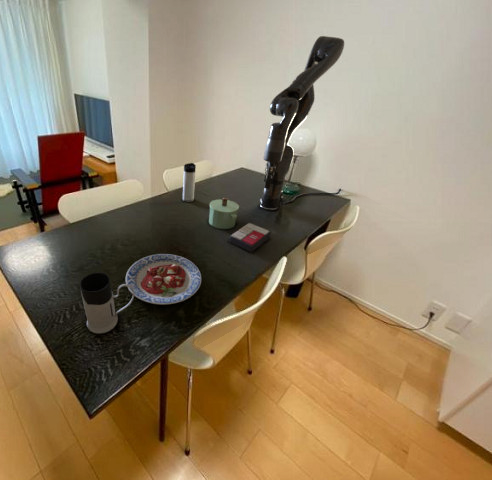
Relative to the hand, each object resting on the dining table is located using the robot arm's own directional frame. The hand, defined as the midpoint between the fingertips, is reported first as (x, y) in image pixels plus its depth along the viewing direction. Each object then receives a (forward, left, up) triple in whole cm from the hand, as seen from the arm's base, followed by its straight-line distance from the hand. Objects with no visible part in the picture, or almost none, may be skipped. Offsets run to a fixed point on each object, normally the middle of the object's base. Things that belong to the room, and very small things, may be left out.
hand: (266, 185), depth 123 cm
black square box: (+13, +19, -18) cm, 29 cm away
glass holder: (+70, +55, -18) cm, 90 cm away
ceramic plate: (+53, +40, -18) cm, 68 cm away
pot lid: (+20, +2, -9) cm, 22 cm away
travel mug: (+31, -26, -18) cm, 44 cm away
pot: (+20, +2, -18) cm, 27 cm away
